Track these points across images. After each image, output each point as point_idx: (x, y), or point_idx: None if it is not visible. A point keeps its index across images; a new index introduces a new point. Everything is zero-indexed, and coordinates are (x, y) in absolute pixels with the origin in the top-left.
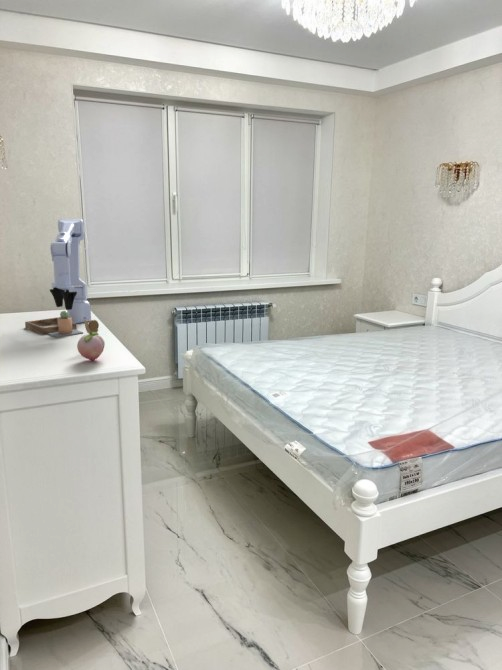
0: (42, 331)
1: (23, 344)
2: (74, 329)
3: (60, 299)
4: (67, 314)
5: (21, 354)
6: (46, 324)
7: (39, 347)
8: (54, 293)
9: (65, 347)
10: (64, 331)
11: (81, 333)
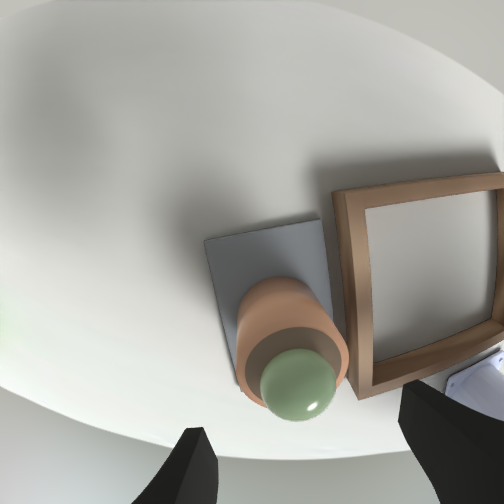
0: (345, 191)
1: (146, 47)
2: None
3: (434, 462)
4: (266, 405)
5: (11, 52)
6: (498, 272)
7: (52, 115)
8: (497, 477)
9: (10, 226)
10: (240, 307)
11: None
